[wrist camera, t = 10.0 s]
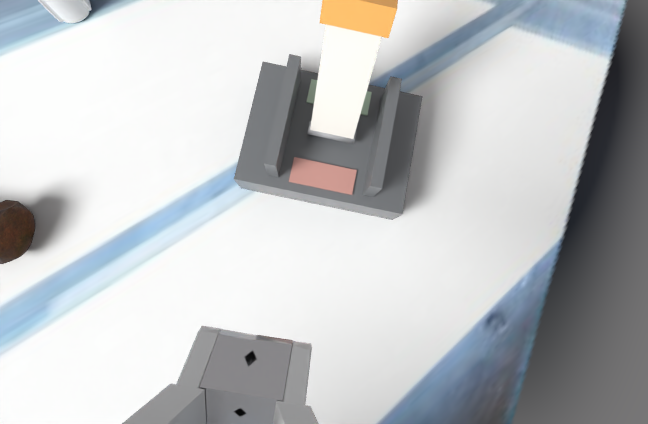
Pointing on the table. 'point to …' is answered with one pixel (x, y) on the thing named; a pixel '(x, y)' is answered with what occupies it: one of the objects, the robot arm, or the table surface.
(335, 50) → the breaker lever
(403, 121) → the grey switch base
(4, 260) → the bolt
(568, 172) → the table surface
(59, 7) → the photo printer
